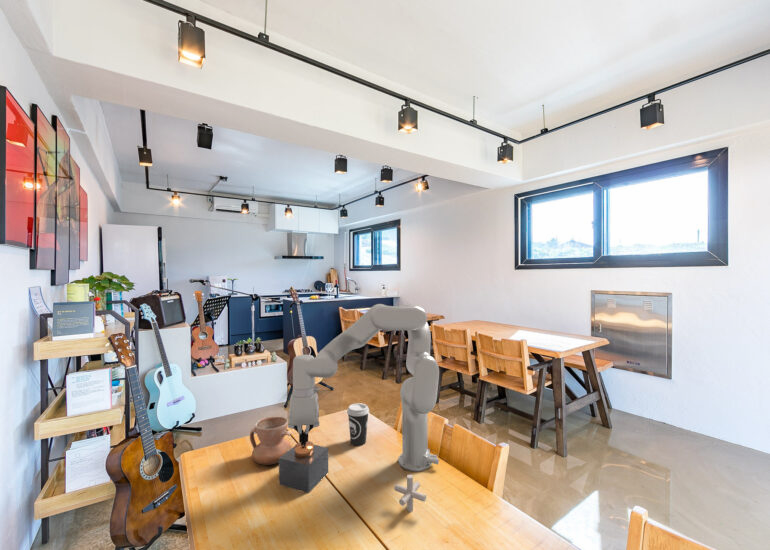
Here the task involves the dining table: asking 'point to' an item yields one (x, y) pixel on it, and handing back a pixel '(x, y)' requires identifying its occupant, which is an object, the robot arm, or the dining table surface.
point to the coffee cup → (358, 423)
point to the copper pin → (304, 449)
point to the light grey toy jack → (409, 493)
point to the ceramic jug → (270, 440)
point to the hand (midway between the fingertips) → (303, 443)
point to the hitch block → (303, 469)
